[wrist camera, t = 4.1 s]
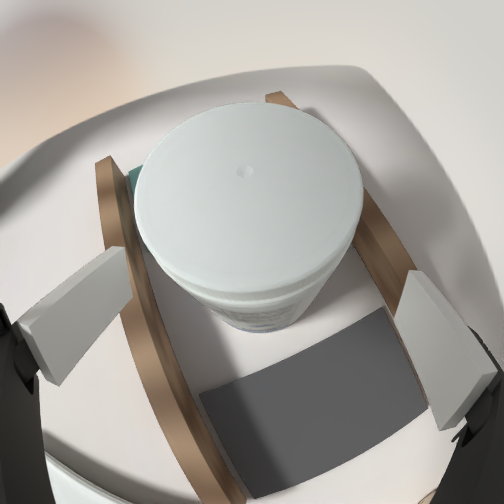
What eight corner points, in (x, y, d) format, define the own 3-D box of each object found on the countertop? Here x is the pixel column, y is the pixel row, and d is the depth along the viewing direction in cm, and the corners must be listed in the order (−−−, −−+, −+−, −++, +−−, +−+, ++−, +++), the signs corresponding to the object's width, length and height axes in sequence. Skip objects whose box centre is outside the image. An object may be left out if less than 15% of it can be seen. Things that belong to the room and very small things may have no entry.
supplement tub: (260, 211, 26) (251, 77, 13) (337, 278, 23) (409, 172, 10) (183, 281, 24) (95, 183, 11) (258, 359, 21) (240, 359, 8)
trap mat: (200, 394, 20) (198, 394, 20) (380, 307, 22) (382, 306, 22) (254, 497, 16) (254, 499, 16) (426, 407, 18) (428, 408, 18)
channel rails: (110, 183, 29) (94, 163, 25) (280, 115, 32) (280, 91, 28) (225, 504, 16) (218, 525, 12) (446, 390, 18) (471, 391, 15)
